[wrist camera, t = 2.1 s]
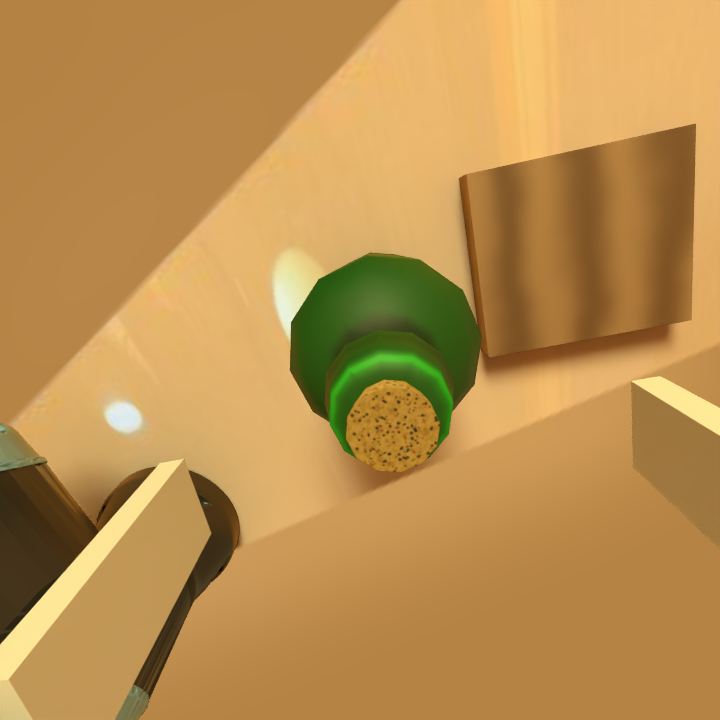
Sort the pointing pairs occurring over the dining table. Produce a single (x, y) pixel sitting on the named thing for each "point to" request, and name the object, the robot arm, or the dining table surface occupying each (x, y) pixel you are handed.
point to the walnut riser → (582, 242)
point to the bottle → (385, 357)
